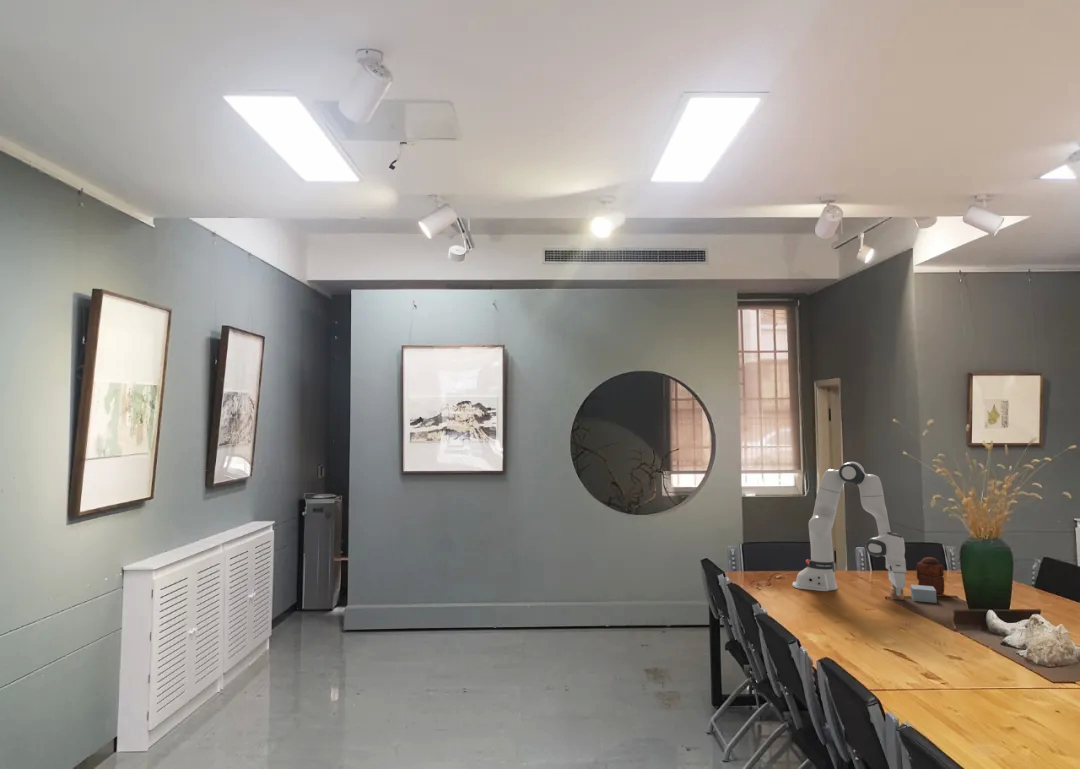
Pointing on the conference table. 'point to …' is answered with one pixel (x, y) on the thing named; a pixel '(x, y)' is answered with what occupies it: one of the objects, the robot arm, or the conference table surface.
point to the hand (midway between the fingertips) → (896, 593)
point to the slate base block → (923, 593)
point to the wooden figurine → (931, 574)
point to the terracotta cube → (893, 593)
